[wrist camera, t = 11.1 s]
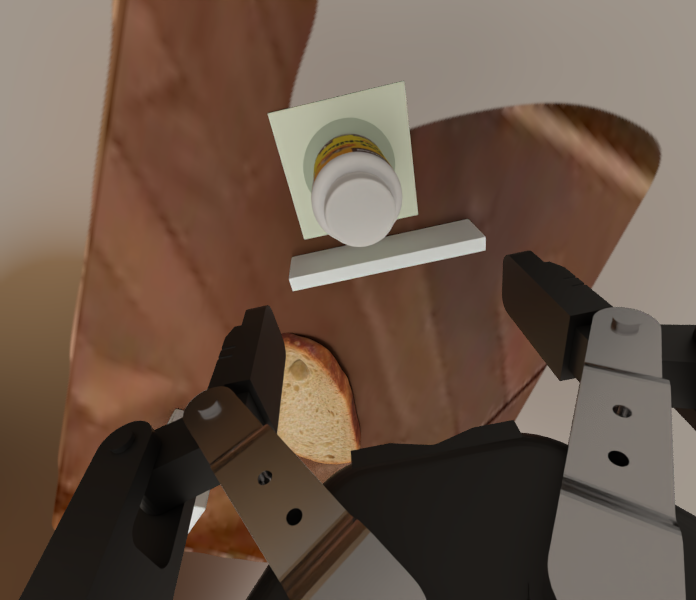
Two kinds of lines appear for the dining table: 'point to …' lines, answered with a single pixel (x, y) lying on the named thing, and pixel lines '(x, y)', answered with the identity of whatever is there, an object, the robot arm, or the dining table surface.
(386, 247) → the low wall
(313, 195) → the supplement bottle
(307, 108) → the pad
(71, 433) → the dining table surface
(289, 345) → the bread slice
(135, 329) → the dining table surface
